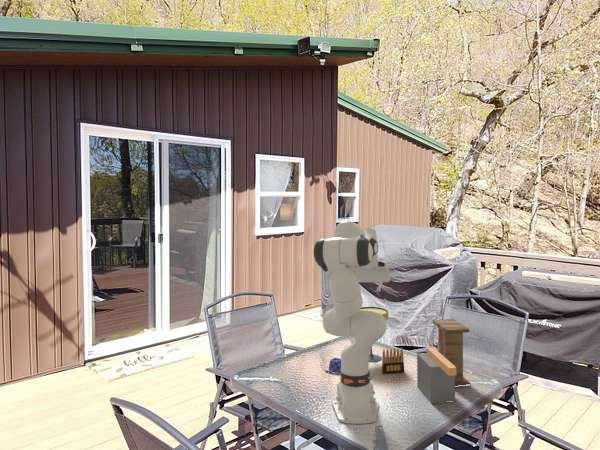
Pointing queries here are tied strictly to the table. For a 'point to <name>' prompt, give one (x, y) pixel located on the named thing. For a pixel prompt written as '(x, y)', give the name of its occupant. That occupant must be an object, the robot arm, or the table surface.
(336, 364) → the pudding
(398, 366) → the ammunition clip
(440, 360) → the wooden bar
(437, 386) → the grey concrete block
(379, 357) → the cocktail glass
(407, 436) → the table surface
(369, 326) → the robot arm
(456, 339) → the wooden pedestal stand
